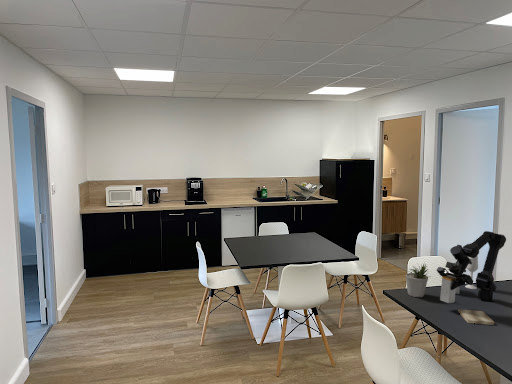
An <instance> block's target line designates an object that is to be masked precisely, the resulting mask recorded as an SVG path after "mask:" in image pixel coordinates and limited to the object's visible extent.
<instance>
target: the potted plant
mask: <svg viewBox="0 0 512 384" xmlns="http://www.w3.org/2000/svg"><path fill="white" fill-rule="evenodd" d="M417 266H418V268H417V267H416V266H415V265H412V266H411V267H412V268H408V272H409V273H408V272H407V273H406V274H405V280H406V281H405V282H406V289H407V290H406V291H407V294H408V295H409V296H410V297H414V298H423V297H424V296H425V293H426V289H427V285H428V280H429V278H430V277H431V275H430V276H428V273H427V272H428V270H429V268H427V267H428V265H427V264H426V263H425V261H424V263H422V264H421V265H420V266H421V267H420V266H419V264H417Z"/></svg>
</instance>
